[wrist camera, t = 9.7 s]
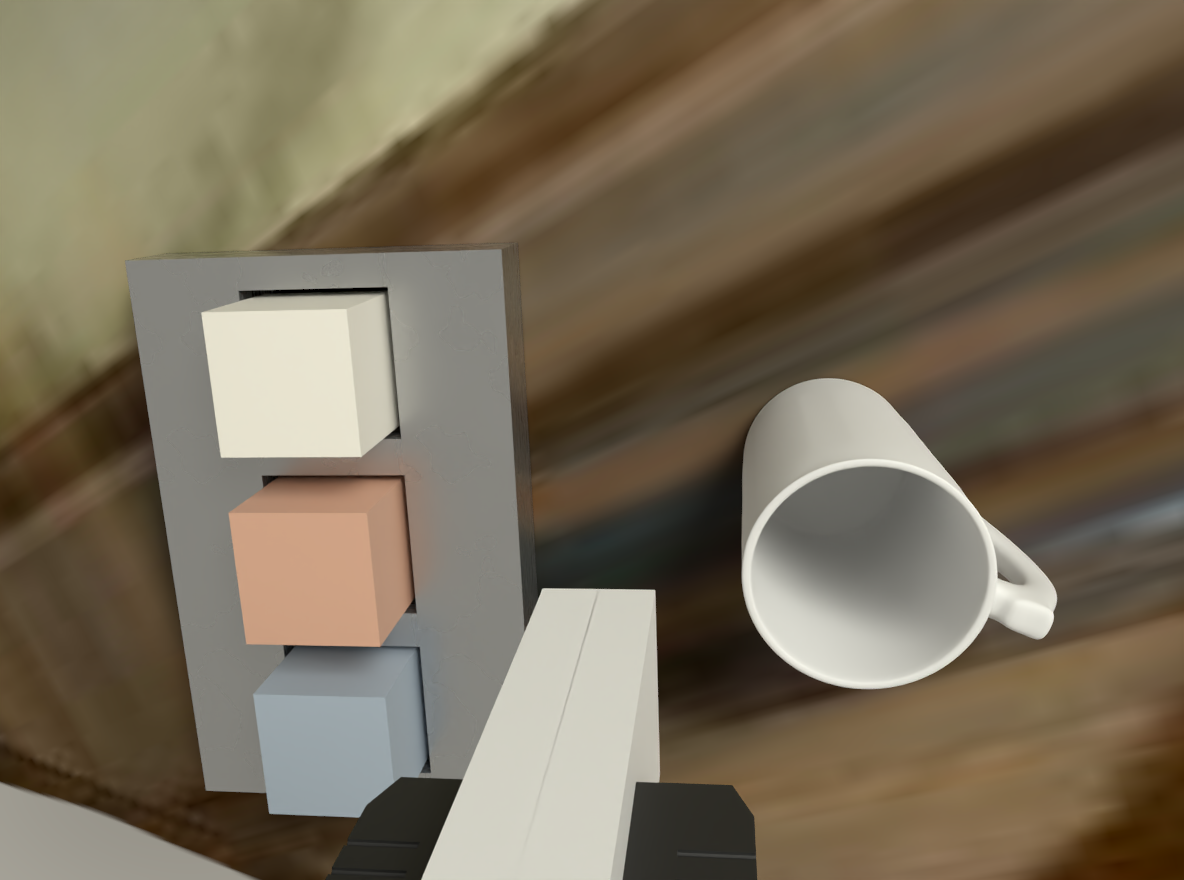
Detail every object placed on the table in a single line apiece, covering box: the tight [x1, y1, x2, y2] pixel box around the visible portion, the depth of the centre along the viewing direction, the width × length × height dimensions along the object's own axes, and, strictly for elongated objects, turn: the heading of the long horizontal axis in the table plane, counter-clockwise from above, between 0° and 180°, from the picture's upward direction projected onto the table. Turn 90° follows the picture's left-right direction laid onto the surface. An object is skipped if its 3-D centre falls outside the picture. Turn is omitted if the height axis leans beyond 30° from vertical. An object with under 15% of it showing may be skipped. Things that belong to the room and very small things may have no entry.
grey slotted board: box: [125, 243, 538, 793], centre depth 41 cm, size 22×14×3 cm, turn 2°
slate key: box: [253, 645, 429, 817], centre depth 41 cm, size 5×5×5 cm
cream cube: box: [201, 291, 400, 458], centre depth 37 cm, size 5×5×5 cm
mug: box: [742, 378, 1057, 689], centre depth 34 cm, size 10×7×12 cm, turn 72°
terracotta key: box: [229, 475, 415, 647], centre depth 39 cm, size 5×5×5 cm
